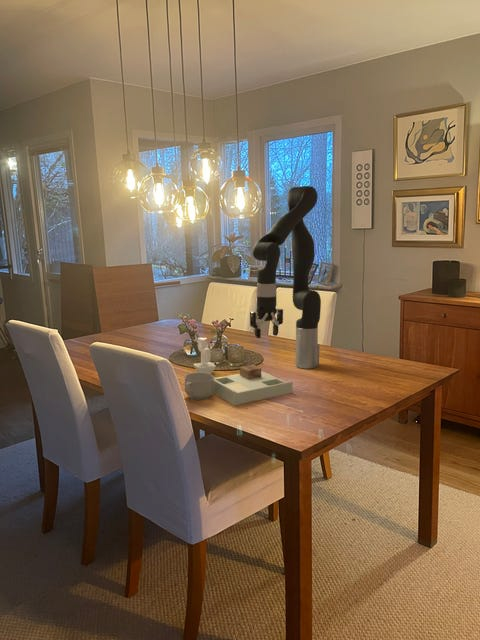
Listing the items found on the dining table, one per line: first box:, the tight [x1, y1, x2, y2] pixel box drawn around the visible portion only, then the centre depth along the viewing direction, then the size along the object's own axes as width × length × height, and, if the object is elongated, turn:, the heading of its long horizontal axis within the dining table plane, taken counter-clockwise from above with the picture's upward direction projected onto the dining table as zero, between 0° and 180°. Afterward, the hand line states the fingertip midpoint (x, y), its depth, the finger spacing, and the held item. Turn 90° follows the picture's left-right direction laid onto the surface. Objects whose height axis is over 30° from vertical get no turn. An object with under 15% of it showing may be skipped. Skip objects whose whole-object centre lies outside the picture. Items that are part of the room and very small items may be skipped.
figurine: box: [193, 337, 217, 375], centre depth 221 cm, size 7×9×15 cm
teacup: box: [184, 371, 216, 401], centre depth 192 cm, size 14×11×8 cm
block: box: [239, 364, 262, 379], centre depth 207 cm, size 6×6×4 cm
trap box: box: [212, 370, 294, 406], centre depth 200 cm, size 25×24×5 cm
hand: (266, 336), depth 208 cm, fingers open, 7 cm apart
